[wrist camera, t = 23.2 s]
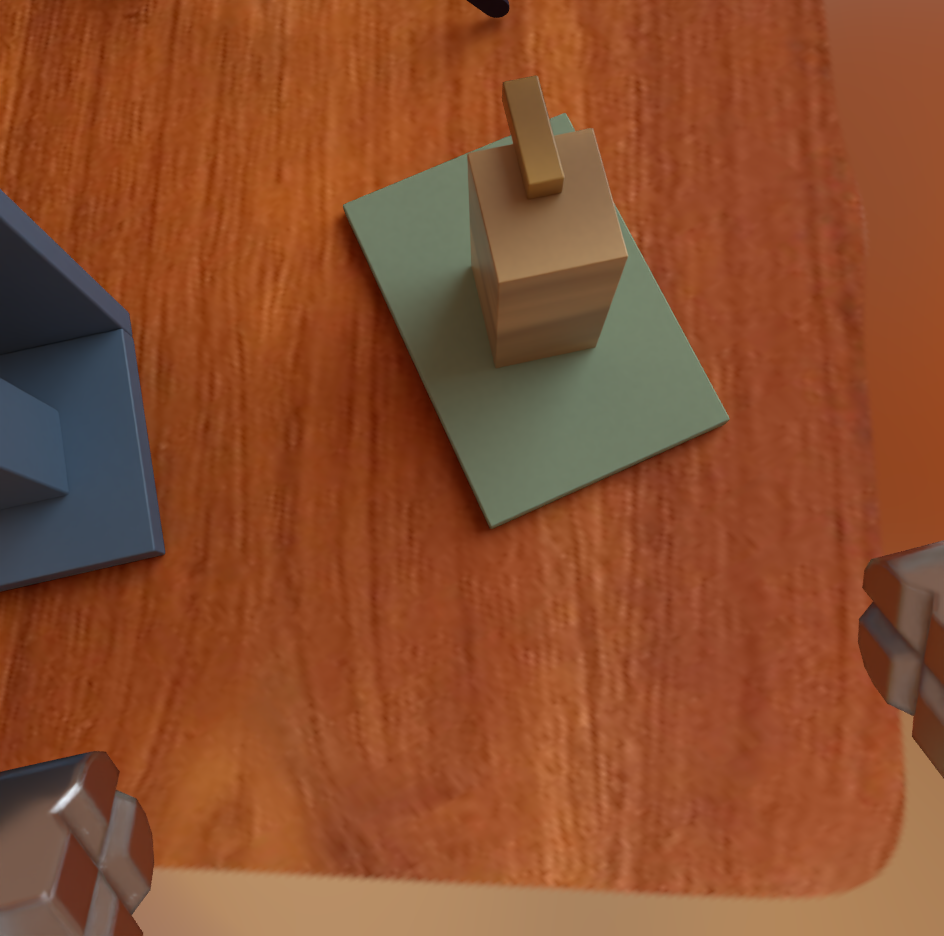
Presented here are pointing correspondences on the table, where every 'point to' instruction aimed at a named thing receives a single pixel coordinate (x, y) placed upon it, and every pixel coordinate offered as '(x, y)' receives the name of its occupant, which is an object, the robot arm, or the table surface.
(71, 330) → the bracket
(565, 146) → the tan block with peg
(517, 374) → the mat
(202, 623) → the table surface
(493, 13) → the sunglasses
